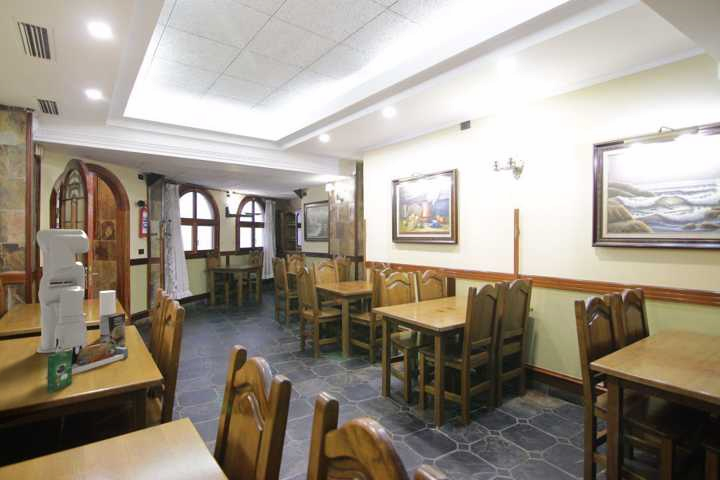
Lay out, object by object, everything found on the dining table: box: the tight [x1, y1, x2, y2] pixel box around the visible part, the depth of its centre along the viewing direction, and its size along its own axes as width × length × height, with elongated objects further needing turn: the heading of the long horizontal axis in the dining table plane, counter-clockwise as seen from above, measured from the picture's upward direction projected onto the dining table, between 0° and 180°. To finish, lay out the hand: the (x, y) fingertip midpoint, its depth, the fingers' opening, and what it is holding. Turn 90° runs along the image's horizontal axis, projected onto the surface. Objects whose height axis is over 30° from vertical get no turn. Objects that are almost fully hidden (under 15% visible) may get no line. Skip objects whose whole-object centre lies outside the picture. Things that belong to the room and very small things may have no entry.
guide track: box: [72, 346, 129, 375], centre depth 155 cm, size 7×28×4 cm, turn 157°
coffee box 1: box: [46, 348, 73, 393], centre depth 133 cm, size 8×3×13 cm, turn 178°
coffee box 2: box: [99, 312, 126, 347], centre depth 181 cm, size 9×6×16 cm
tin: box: [76, 343, 116, 366], centre depth 157 cm, size 15×3×8 cm, turn 152°
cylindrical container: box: [99, 290, 117, 318], centre depth 198 cm, size 7×7×25 cm
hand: (72, 364), depth 148 cm, fingers closed
